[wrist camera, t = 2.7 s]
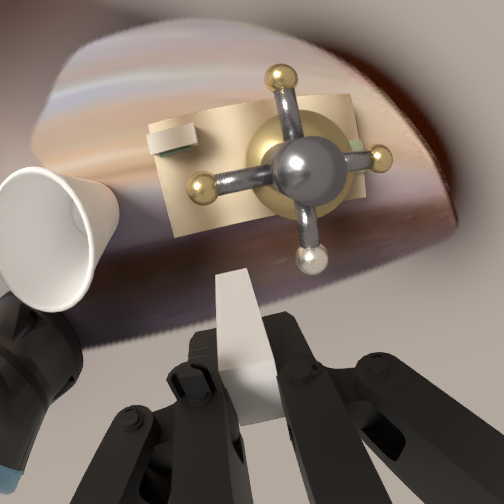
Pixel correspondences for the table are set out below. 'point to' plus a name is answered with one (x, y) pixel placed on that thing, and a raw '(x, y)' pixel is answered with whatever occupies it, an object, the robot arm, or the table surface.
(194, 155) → the stand
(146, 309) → the table surface
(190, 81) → the table surface
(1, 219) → the cup
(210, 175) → the capstan
